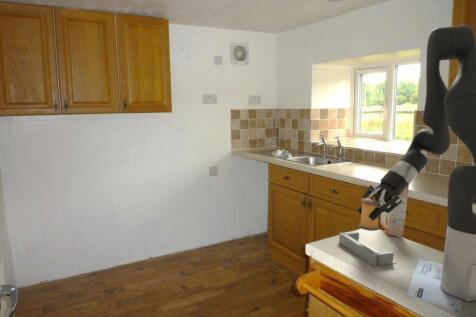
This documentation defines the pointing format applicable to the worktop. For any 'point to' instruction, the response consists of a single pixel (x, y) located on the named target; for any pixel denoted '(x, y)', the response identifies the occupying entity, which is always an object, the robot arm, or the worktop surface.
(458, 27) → the robot arm
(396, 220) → the cracker box
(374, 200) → the orange cylinder
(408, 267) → the worktop surface
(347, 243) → the duct tray
